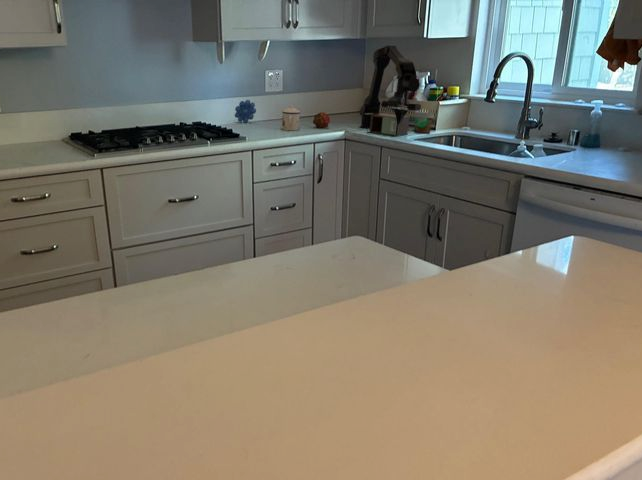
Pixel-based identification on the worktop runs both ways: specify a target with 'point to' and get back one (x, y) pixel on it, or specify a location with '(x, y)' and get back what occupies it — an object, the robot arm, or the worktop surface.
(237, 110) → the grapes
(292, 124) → the teacup with lid
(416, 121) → the food container
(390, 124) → the sliding door
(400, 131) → the cabinet
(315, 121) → the dragon fruit
